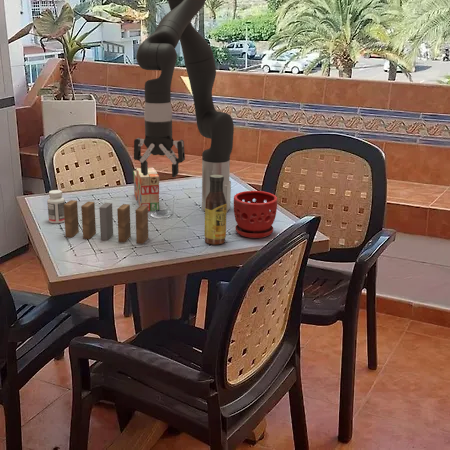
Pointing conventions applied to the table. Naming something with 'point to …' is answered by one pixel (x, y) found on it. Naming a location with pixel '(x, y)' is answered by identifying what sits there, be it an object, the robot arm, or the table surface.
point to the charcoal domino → (106, 221)
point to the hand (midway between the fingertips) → (159, 175)
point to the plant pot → (255, 213)
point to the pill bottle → (56, 207)
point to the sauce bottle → (215, 212)
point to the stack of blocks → (147, 188)
